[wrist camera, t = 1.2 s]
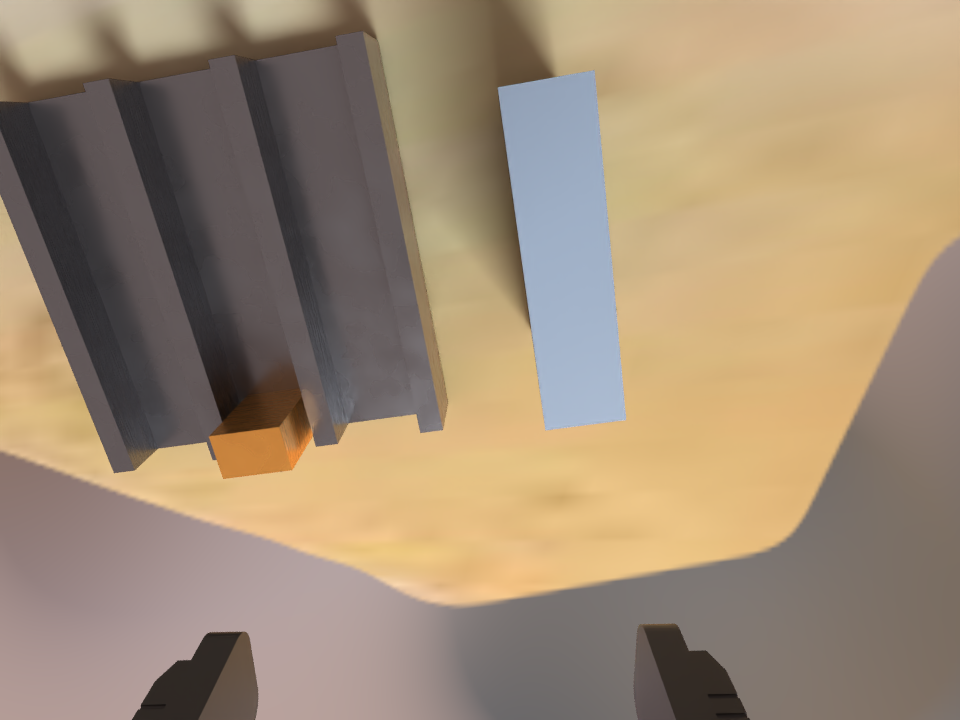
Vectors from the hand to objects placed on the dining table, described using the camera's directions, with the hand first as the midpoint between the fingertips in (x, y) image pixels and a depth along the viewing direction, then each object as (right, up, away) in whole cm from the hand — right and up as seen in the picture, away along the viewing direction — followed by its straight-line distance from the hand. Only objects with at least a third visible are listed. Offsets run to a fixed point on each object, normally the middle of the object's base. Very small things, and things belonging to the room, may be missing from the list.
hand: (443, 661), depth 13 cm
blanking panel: (+4, +14, +20) cm, 24 cm away
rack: (-12, +11, +21) cm, 27 cm away
